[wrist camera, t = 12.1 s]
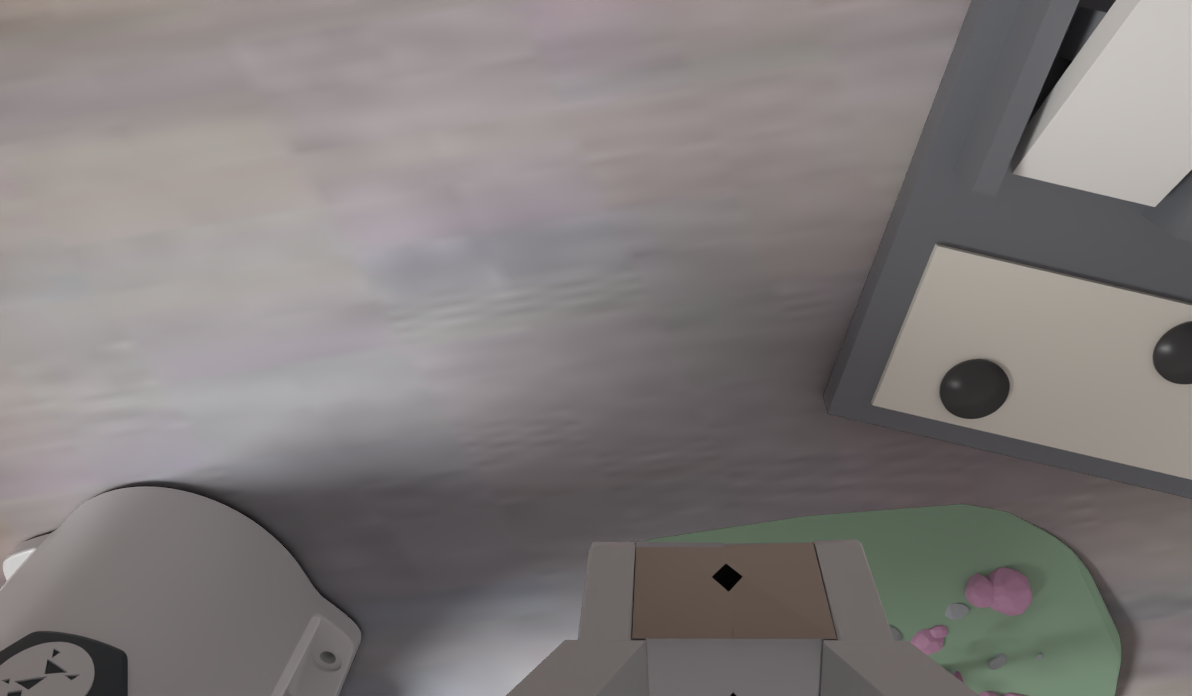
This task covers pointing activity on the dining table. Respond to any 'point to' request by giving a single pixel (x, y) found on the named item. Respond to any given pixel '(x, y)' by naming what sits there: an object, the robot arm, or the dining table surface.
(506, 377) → the dining table surface
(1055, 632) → the plant
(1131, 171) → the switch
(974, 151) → the switch unit
